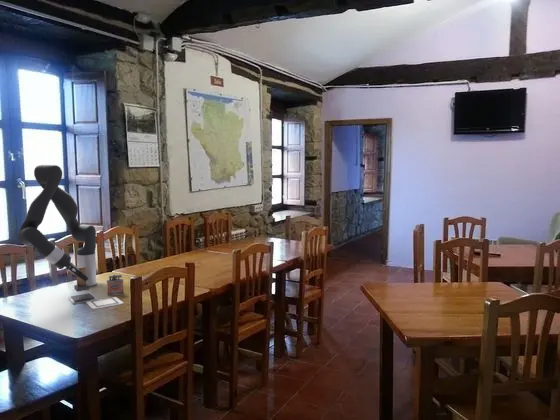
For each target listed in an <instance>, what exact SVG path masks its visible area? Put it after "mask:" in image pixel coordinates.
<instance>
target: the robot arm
mask: <svg viewBox="0 0 560 420" xmlns="http://www.w3.org/2000/svg"><path fill="white" fill-rule="evenodd" d="M33 174H34V178H35V181H36V182H37V183H38V184H39V186H40V187H41V188H42V191H41V192H40V193H39V194H38V195H37V196H36V198H34V199H33V201H31V203H30V205H29V207H28V210H27V214H26V217H25V219H24V221H23V223H22V225H21V227H20V228H19V231H18V234H17V239H18V242H20V243H21V244H22V245H23V244H25V245H29V244H30V245H32V246H33V248H35V251H36V252H37V253H38V254H39V255H40V256H42V257H43V258H45V259H46V261H48V262H49V263H50V264H51V265H53V266H54V267H56V268H57V269H58V270H63V269H64V268H65V270H66V271H67V272H69V273H71V274H72V275H74V276H76V277H77V276H78V277H80V278H81V279H83V280H84V281H86V284H87V285H89V287H92V286H95V285H97V267H96V265H97V264H96V262H97V261H96V248H97V231H96V228H95V226H94V225H92V224H81V223H80V222H79V221H78V219H77V216H78V212H79V207H78V205H77V203H76V201H75V199H74V198H73V197H72V195H71V194H70V193H68V192H67V191H66V190H64V189H62V188H61V187H60V186H59V185H60V183H61V181H62V177H63V170H62V168H61V167H60V166H59V165H55V164H39V165H37V166H35V168H34V169H33ZM50 202H52V203H53V204H54V207H55V208H56V210H57V211H58V213H59V214H60V215H61V217H62V219H63V221H64V222H65V224H66V226H67V228H68V230H69V232H70V235H71V237H72V238H73V240H75V241H76V242H83V243H84V246H82V247H80V248H77V250H76V264H77V265H75V264H74V263H73V262H71V261H72V260H71V259H72V257H71V256H70V255H69V254H68V253H66V252H65V251H64V250H62V249H61V248H60V247H58V246H57V245H55V244H54V243H52V242H51V241H50V240H49V239H48V238H47V237H46V236H45V234H43V232H41V231H40V230H39V226H40V225H41V224H42V222H43V221H44V217H45V216H46V215H45V214H46V211H47V209H48V206H49V204H50ZM77 267H86V276H85V275H84V274H83V273H82V272H80V271H79V269H78V268H77ZM78 272H80V273H79V274H78V275H77V273H78Z"/></svg>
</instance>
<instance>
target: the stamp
mask: <svg viewBox="0 0 560 420" xmlns="http://www.w3.org/2000/svg"><path fill="white" fill-rule="evenodd" d="M76 267H77V268H78V269H79V271H80V272H82V273H83V274H84V275H85V276H86V267H78V266H76ZM80 272H78V273H77V275H78V274H79V273H80ZM77 275H76V284H74V286H73V288H74V289H73V290H75V292H85V291H90V286H89V285H87V284H86V281H84V280H83V279H81V278H80V277H78V276H77Z"/></svg>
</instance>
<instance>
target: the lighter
mask: <svg viewBox="0 0 560 420" xmlns="http://www.w3.org/2000/svg"><path fill="white" fill-rule="evenodd" d="M122 277H123V275H122V274H117V275H116V274H113V275H109V276H108V279H107V280H106V286H107V287H106V289H107V290H106V291H107V296H117V295H119V296H120V295H124V294H125V291H124V278H122Z"/></svg>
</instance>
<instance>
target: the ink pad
mask: <svg viewBox="0 0 560 420" xmlns="http://www.w3.org/2000/svg"><path fill="white" fill-rule="evenodd" d="M67 299H68V301H70V303H71V304H72V305H77V304H78V305H79V304H83V303H85V304H86V302H89V301H94V300H98V298H97V297H96V296H95V295H94V294H92V293H82V294H77V295H70V296H69V297H68V298H67Z"/></svg>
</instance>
